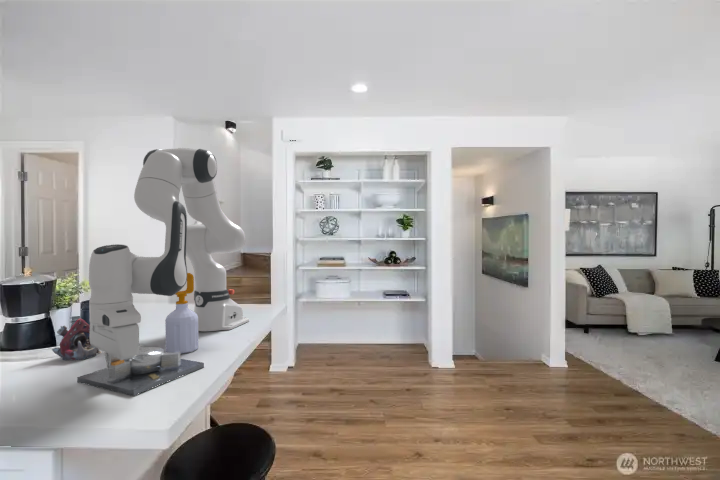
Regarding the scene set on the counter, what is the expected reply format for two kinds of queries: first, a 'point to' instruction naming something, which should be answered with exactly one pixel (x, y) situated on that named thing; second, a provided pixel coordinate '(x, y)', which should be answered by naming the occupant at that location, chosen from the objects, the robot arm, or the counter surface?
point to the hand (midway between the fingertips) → (112, 370)
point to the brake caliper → (75, 342)
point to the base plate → (138, 378)
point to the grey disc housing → (144, 362)
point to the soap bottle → (182, 324)
